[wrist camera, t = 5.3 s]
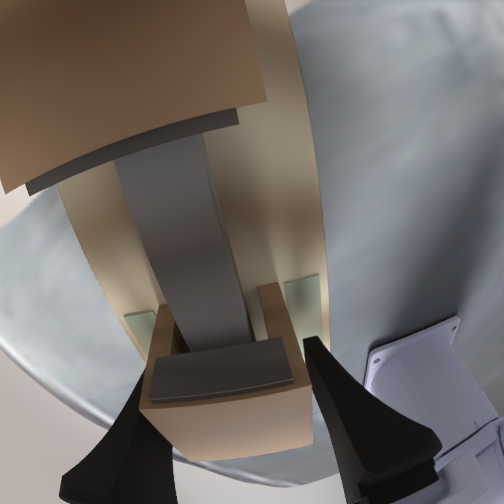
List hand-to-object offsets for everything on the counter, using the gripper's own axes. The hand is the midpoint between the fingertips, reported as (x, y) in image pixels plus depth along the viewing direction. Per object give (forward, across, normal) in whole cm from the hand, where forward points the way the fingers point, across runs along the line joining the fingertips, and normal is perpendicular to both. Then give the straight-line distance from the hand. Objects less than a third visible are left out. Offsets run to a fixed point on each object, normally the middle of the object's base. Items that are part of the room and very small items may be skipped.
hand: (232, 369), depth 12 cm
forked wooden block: (+2, 0, 0) cm, 2 cm away
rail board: (+3, 0, -6) cm, 7 cm away
